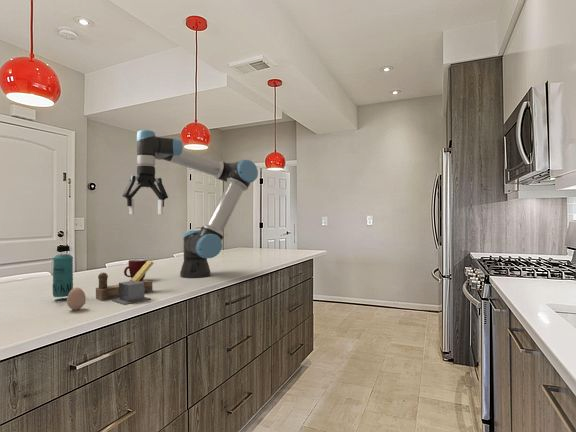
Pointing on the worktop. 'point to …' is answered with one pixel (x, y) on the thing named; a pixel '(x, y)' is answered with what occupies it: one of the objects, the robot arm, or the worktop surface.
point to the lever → (142, 271)
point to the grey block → (131, 291)
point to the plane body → (114, 288)
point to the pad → (130, 302)
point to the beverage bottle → (62, 273)
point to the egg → (76, 298)
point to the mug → (135, 267)
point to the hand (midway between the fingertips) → (146, 214)
